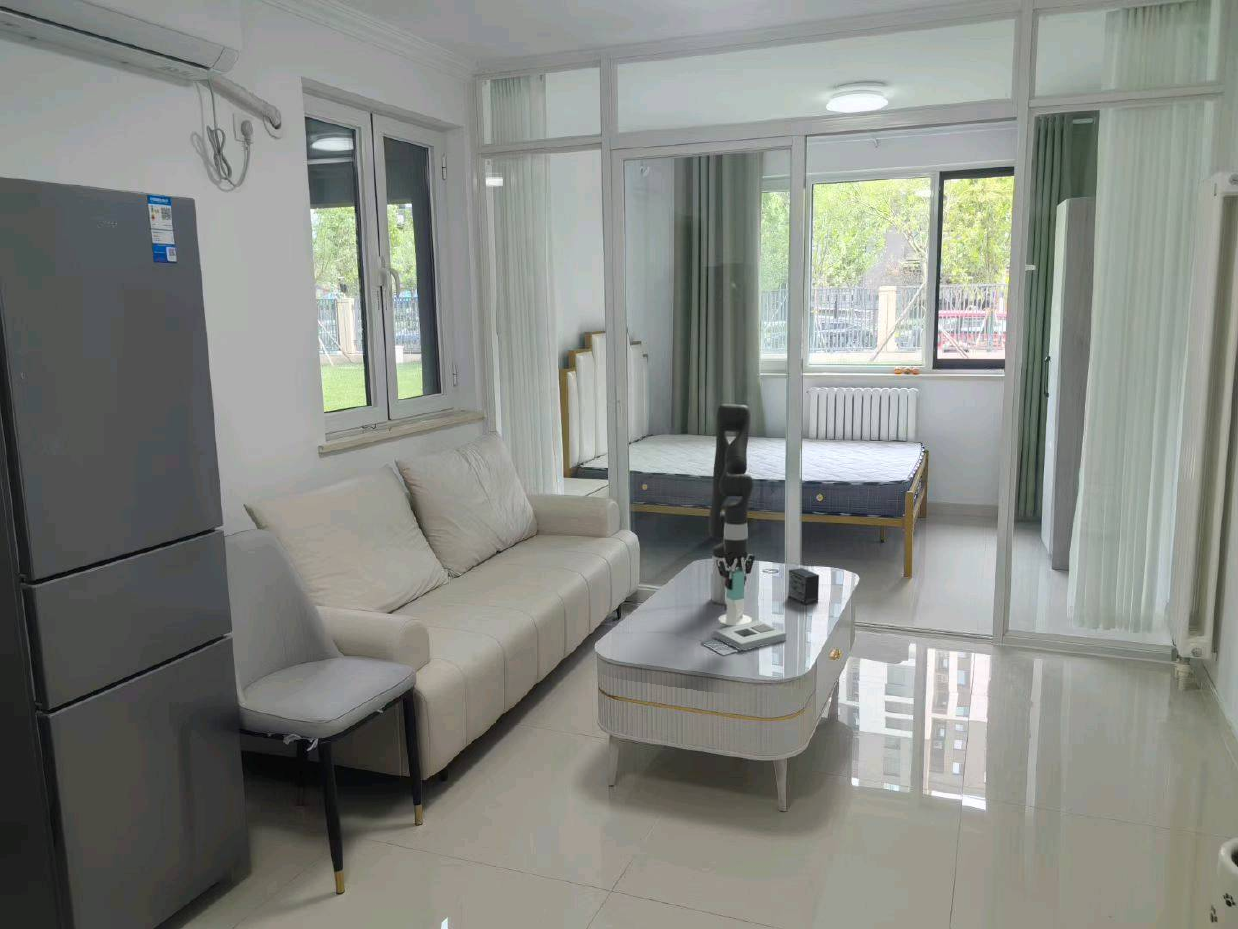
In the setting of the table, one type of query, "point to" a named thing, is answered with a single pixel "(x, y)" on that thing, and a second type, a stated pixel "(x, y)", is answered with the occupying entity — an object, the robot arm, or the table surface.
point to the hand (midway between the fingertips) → (735, 588)
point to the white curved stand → (734, 611)
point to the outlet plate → (750, 635)
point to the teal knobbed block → (736, 586)
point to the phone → (717, 644)
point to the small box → (803, 586)
